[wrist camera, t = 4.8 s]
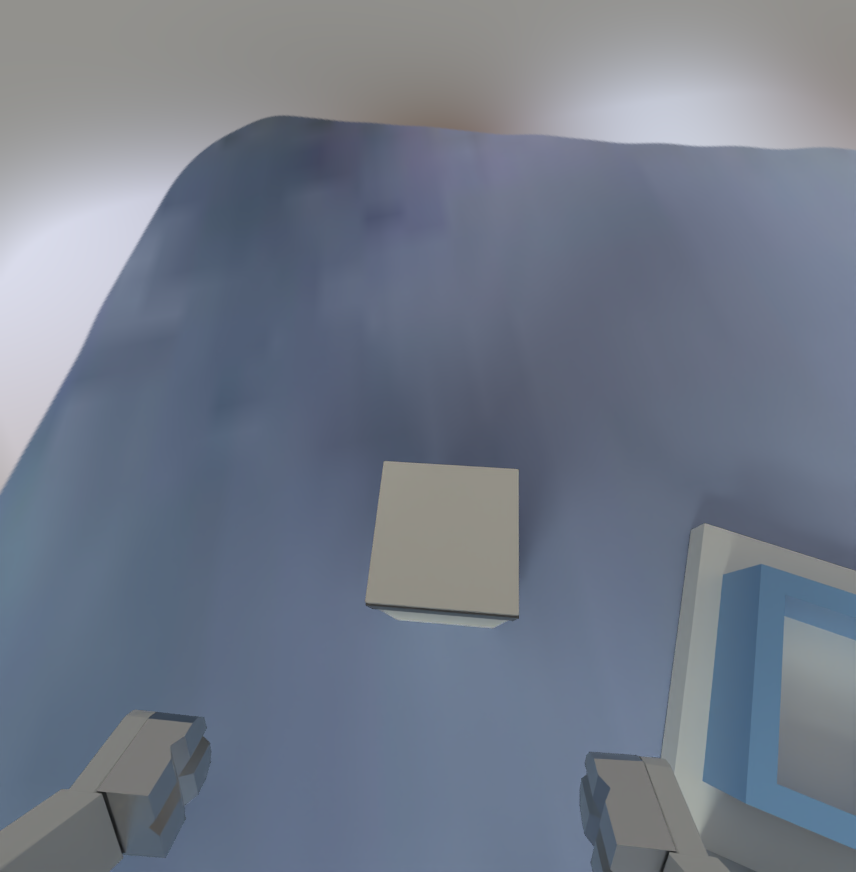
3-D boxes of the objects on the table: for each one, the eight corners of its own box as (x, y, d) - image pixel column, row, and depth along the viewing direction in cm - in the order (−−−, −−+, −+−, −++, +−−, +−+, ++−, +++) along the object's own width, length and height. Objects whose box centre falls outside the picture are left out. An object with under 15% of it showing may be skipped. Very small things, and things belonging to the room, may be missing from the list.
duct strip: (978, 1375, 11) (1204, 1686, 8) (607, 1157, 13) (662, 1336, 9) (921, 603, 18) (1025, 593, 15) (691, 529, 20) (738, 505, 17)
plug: (494, 629, 19) (520, 617, 12) (396, 621, 19) (363, 603, 12) (496, 531, 21) (520, 467, 13) (406, 525, 21) (382, 459, 14)
